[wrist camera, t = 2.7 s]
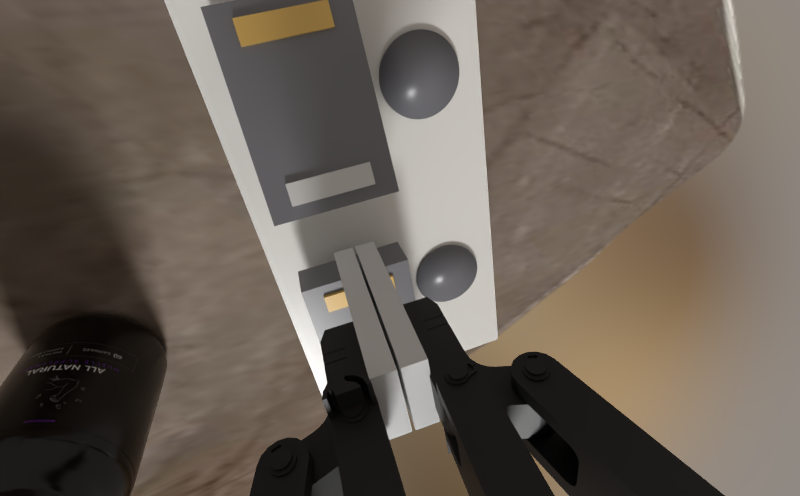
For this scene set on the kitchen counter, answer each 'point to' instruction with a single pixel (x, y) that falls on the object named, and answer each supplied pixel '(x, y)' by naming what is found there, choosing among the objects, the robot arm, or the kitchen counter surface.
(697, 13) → the kitchen counter surface
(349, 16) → the rocker
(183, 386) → the kitchen counter surface
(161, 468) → the kitchen counter surface
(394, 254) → the rocker
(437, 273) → the power strip
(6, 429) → the supplement bottle
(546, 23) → the kitchen counter surface
